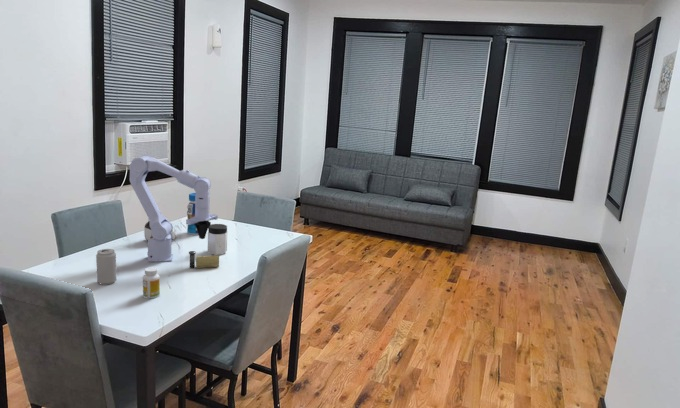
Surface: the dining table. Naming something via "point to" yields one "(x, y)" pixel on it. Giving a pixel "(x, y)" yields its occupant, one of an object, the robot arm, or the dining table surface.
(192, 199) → the beverage bottle
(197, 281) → the dining table surface
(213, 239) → the jar
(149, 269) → the supplement bottle
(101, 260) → the beverage can
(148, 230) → the spread jar
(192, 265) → the hinge base
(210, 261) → the brass leaf
